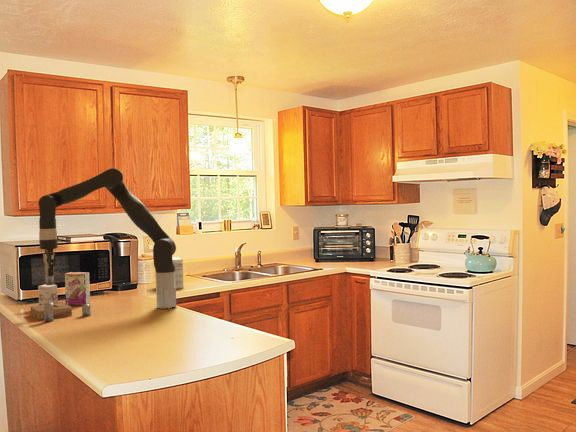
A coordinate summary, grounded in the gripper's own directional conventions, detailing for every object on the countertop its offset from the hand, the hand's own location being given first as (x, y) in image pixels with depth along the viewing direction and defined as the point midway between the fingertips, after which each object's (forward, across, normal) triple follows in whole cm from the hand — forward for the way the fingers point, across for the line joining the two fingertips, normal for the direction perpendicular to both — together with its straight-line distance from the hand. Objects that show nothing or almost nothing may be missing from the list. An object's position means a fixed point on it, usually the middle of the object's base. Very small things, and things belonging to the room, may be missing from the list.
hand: (49, 275), depth 235 cm
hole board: (+18, 0, 0) cm, 18 cm away
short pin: (+18, -13, -12) cm, 26 cm away
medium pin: (+18, -13, +4) cm, 23 cm away
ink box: (+19, +18, -3) cm, 26 cm away
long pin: (+4, 0, 0) cm, 4 cm away
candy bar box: (+19, +18, -17) cm, 31 cm away
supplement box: (+19, +33, -75) cm, 84 cm away
